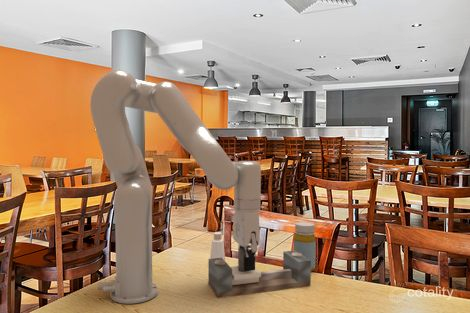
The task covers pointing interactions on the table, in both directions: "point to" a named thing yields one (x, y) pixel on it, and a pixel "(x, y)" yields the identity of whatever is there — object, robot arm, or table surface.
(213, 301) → the table surface
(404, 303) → the table surface
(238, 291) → the rail track
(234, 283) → the carriage
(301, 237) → the bottle
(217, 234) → the pepper shaker
